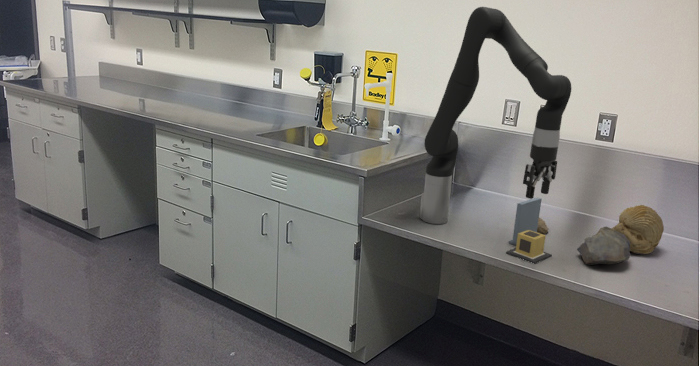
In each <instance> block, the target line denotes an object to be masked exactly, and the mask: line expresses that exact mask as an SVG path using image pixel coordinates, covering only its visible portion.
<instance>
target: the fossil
mask: <svg viewBox="0 0 700 366" xmlns="http://www.w3.org/2000/svg"><path fill="white" fill-rule="evenodd" d="M619 214H620V215H619V216H618V221H619V222H618V223H617V224H616V225H615V226H613V227H611V228H612V229H614V230H615V231H617V232H620V233H622V234H624V235H625V237H626V238H627V239H628V240H629V241H630V251H629V252H632V253H634V254H640V255H641V254H642V255H648V254H651V253H653V252H654V250H655V248H657V246H659V243H660V241H661V239H662V236H663V233H664V230H665V229H664V223H663V220H662V217H661V216H660V215H659V213H658V212H657V211H656V210H655V209H653V208H652V207H649V206H647V205H644V204H643V205H642V204H640V205H634V206H631V207H626V208H625V209H624V210H623V211H621V213H619Z"/></svg>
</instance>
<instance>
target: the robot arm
mask: <svg viewBox="0 0 700 366" xmlns="http://www.w3.org/2000/svg"><path fill="white" fill-rule="evenodd" d="M486 39H488V40H489V39H492V40H493V41H494V42H496V43H498V44H499V45H501V46H502V47H503V48H504V50H505V51H506V53H507V54H508V57H509V60H510V62H511V63H512V65H513V66H514V67H515V68H516V70H517V71H518V72H519V73H521V74H522V76H523V77H525V78H526V79H527V81H528V83H529V85H530V87H531V89H532V90H533V92H534V93H535V95H537V96H538V97H539V98H540V99H542V100H545V101H546V102H545V105H544V106H542V107H540V108H539V109H538V111H537V113H536V118H535V125H534V126H535V127H534V130H533V134H532V139H531V146H530V153H529V157H530V159H532V164H526V165H525V169H524V174H523V180H522V184H523V185H526V192H525V197H526V199H528V200H530V199H533V198H535V197H534V195H535V190H536V185H537V183H538V182H539V181H540V180H541V179H542V181H541V189H540V193H541V194H543V195H548V194H549V191H550V185H551V183H552V181H554V180H555V179H556V173H557V167H558V161H557V156H558V149H559V144H560V136H561V135H560V133H561V132H560V131H561V125H562V119H563V115H564V112H565V110H566V108H567V107H568V106H567V105H568V103H569V100H570V98H571V94H572V82H571V80H570V78H568V76H565V75H562V74H556V75H555V74H554V75H553V74H550V73H549V71H548V69H549V66H548V62H546V60H544V59H543V58H542V57H541V55H539V54H538V53H537V52H536V51H535V50H533V48H532V47H531V46H530V45H529V43H527V41H525V40H524V38H522V36H521V35H520V34H519V33H518V31H517V30H516V29H515V27H514V26H513V25H512V23H511V22H510V19H508V17H507V16H506V15H505V13H504V12H503V11H501V10H499V9H498V8H492V7H486V6H479V7H477V8H475V9H474V10H473V11H472V12H471V14H470V16H469V18H468V21H467V24H466V27H465V32H464V35H463V39H462V43H461V45H460V49H459V53H458V54H457V58H456V61H455V64H454V67H453V69H452V72H451V74H450V77H449V79H448V82H447V85H446V88H445V90H444V93H443V96H442V99H441V102H440V104H439V107H438V110H437V112H436V115H435V116H434V119H433V121H432V123H431V125H430V126H429V129H428V131H427V134H426V136H425V138H424V142H423V143H424V150H425V151H426V153H427V155H429V156H431V157H432V158H431V159H430V161H429V163H428V164H426V168H425V176H424V177H425V179H424V188H423V189H424V190H423V192H421V199H420V209H419V219H421V220H422V221H423V222H425V223H428V224H431V225H432V224H433V225H442V224H446V223H448V219H449V210H450V199H451V192H452V180H453V172H454V169H455V168H456V167H455V166H456V163H457V159H458V150H459V137H458V134H457V133H456V131H455V130H453V128H454V126H455V124H456V122H457V120H458V119H459V117H460V116H461V115H462V113H463V112H464V111H465V109H467V107H468V105H470V102H471V101H472V99H473V97H474V94H475V92H476V89H477V86H478V84H479V81H480V80H479V79H480V67H479V66H480V65H479V60H480V59H479V57H480V53H481V50H482V46H483V44H484V42H485V41H486Z"/></svg>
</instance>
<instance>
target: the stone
mask: <svg viewBox="0 0 700 366" xmlns="http://www.w3.org/2000/svg"><path fill="white" fill-rule="evenodd" d="M612 228H613V227H609V226H603V227H600V228H599V229H598V231H597V232H596V234H592V235H591V236H588V237H586V238H585V239H584V242H583V243H581V244H580V245H579V246H578V247H577V249H576V250H577V252H578V253H579V254H580V256H581V257H582V260H583V262H584V264H585V265H589V266H590V265H591V266H593V265H614V264H618V263H621V262H625V261H626V260H629V259H630V258H631V255H632V254H631V253H630V252H631V251H630V241H629V240H628V239H627V238H626V237H625V235H624V234H622V233H620V232H617V231H615V230H614V229H612Z"/></svg>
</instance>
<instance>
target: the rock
mask: <svg viewBox="0 0 700 366" xmlns="http://www.w3.org/2000/svg"><path fill="white" fill-rule="evenodd" d="M549 229H550V228H549V227H548V226H547V224H546V221H545V220H543V219H542V217H539V220H538V227H537V233H540V234H543V235H546V234H547V233H548V231H549Z"/></svg>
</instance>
